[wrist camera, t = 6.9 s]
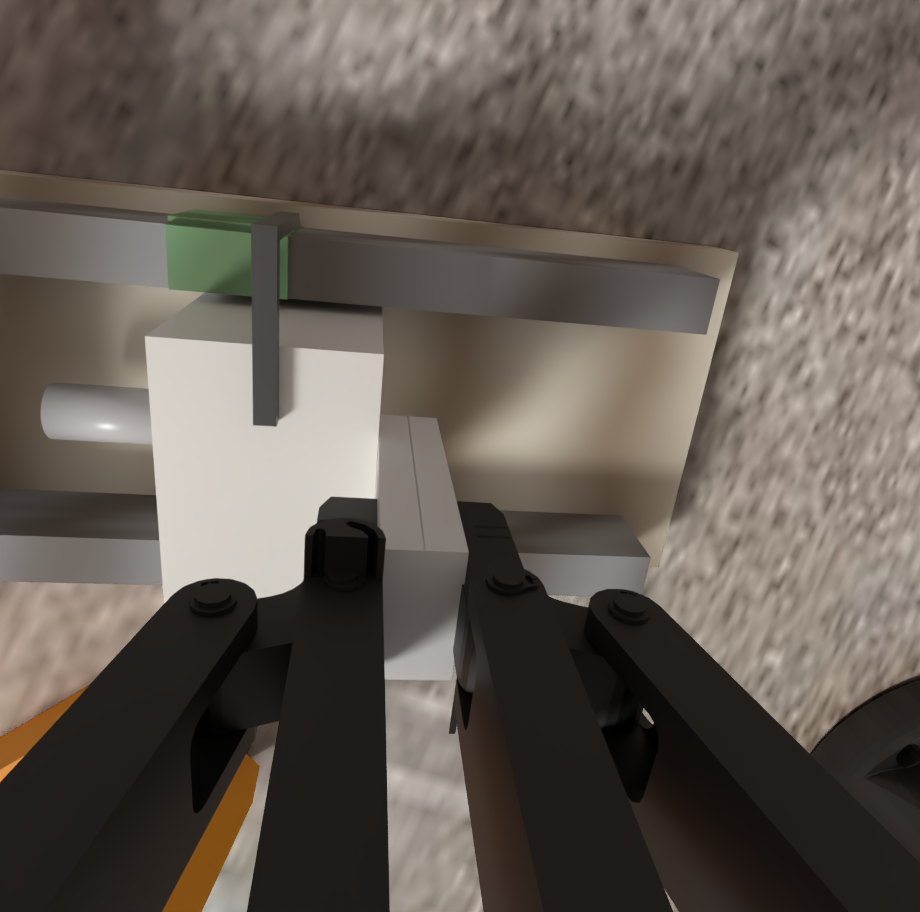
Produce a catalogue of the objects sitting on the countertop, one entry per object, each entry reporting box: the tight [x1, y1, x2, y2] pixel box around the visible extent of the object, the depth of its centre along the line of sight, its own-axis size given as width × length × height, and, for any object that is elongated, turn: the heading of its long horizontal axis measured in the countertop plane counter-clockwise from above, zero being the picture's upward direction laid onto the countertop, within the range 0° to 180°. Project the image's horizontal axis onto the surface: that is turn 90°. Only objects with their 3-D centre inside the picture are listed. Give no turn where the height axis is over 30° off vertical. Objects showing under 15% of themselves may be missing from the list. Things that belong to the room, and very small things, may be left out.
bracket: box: [0, 686, 259, 912], centre depth 24 cm, size 11×7×12 cm, turn 120°
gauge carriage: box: [41, 211, 384, 604], centre depth 18 cm, size 9×10×7 cm
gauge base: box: [0, 170, 739, 596], centre depth 19 cm, size 30×12×10 cm, turn 84°
